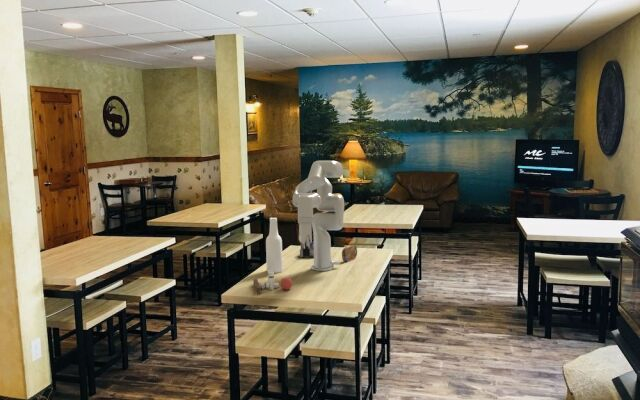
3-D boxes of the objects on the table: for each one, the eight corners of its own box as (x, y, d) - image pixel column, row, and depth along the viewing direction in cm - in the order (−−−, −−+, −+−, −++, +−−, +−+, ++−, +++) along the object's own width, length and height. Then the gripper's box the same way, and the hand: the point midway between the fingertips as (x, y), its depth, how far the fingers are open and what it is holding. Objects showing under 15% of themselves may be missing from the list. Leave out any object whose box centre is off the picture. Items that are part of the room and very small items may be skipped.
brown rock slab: (345, 263, 313) (345, 249, 312) (340, 262, 315) (340, 248, 314) (357, 257, 326) (357, 244, 325) (353, 257, 328) (353, 243, 326)
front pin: (278, 281, 267) (261, 283, 265) (278, 283, 264) (261, 285, 263) (278, 286, 267) (261, 287, 266) (278, 288, 265) (261, 289, 263)
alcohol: (280, 273, 292) (278, 219, 288) (264, 273, 293) (263, 219, 289) (284, 269, 300) (283, 216, 296) (269, 269, 302) (267, 216, 298)
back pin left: (274, 288, 264) (273, 271, 263) (274, 290, 262) (274, 273, 261) (268, 288, 264) (268, 272, 263) (269, 290, 261) (269, 273, 260)
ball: (276, 282, 264) (286, 279, 267) (281, 293, 261) (291, 290, 265) (281, 276, 259) (291, 274, 263) (286, 287, 257) (296, 284, 261)
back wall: (257, 284, 272) (257, 278, 271) (260, 293, 256) (260, 287, 256) (253, 284, 271) (253, 279, 271) (256, 294, 256) (256, 288, 256)
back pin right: (272, 285, 269) (272, 269, 268) (273, 287, 267) (272, 270, 266) (267, 286, 269) (267, 269, 268) (268, 287, 266) (267, 270, 265)
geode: (306, 250, 347) (308, 235, 345) (323, 254, 344) (325, 239, 342) (296, 256, 327) (298, 241, 326) (313, 260, 324) (315, 244, 323)
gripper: (295, 217, 271) (296, 253, 274) (300, 222, 257) (301, 260, 259) (310, 217, 273) (310, 252, 275) (316, 221, 258) (316, 259, 261)
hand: (306, 255), depth 267 cm, fingers closed
